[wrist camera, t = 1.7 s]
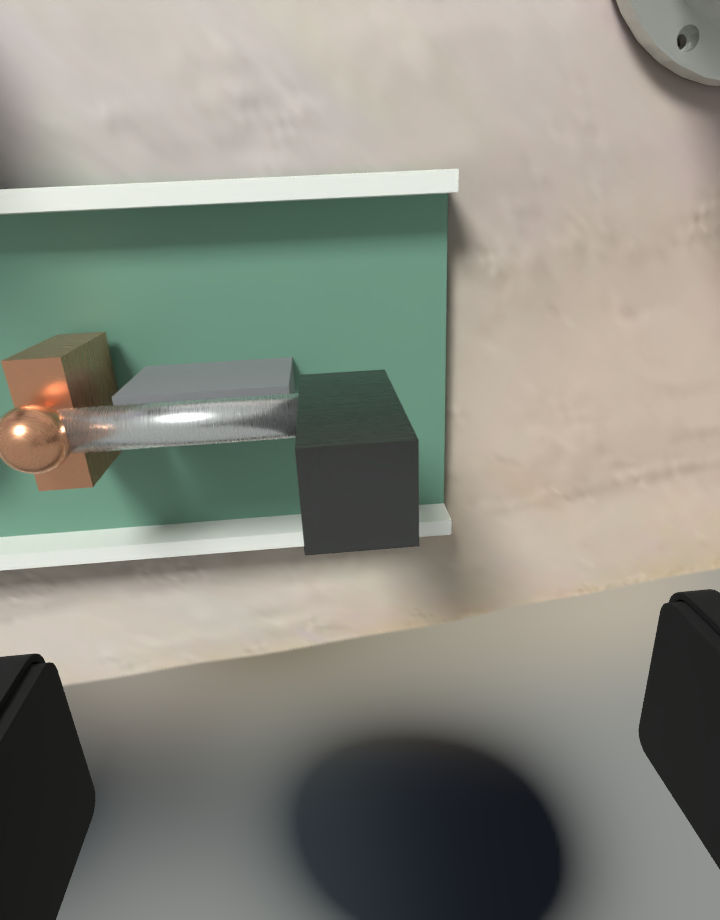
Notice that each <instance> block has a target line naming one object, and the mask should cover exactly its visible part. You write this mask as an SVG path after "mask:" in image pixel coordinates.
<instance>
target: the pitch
mask: <svg viewBox="0 0 720 920" xmlns="http://www.w3.org/2000/svg"><path fill="white" fill-rule="evenodd" d="M458 170H459V169H441V170H419V171H397V172H375V173H353V174H330V175H308V176H286V177H264V178H241V179H219V180H197V181H175V182H153V183H130V184H108V185H86V186H64V187H42V188H19V189H0V418H1V417H2V416H3V415H4V414H6V413H7V412H8V411H9V410H11V409H13V408H14V404H13V401H12V397H11V394H10V391H9V387H8V384H7V380H6V377H5V373H4V370H3V367H2V363H1V361H2V360H4V359H6V358H8V357H10V356H12V355H14V354H17V353H19V352H21V351H23V350H25V349H27V348H29V347H31V346H34V345H36V344H38V343H40V342H42V341H44V340H46V339H49V338H51V337H53V336H55V335H57V334H74V333H92V332H106V336H107V341H108V346H109V350H110V355H111V359H112V364H113V369H114V373H115V378H116V383H117V387H118V392H117V393H116V394H115V395H114V396H112V401H113V405H127V404H142V403H158V402H173V401H188V400H203V399H219V398H234V397H249V396H265V395H280V394H295V393H299V380H300V375H304V374H320V373H335V372H351V371H367V370H382V369H385V371H386V373H387V375H388V377H389V379H390V381H391V383H392V386H393V388H394V390H395V392H396V394H397V396H398V398H399V400H400V402H401V404H402V406H403V408H404V410H405V413H406V415H407V417H408V419H409V421H410V423H411V425H412V427H413V429H414V431H415V433H416V435H417V438H418V440H419V537H427V536H439V535H451V526H452V520H451V518H450V516H449V513H448V511H447V509H446V507H445V505H444V446H445V372H446V297H447V223H448V193H454V192H458ZM302 546H304V539H303V529H302V518H301V508H300V498H299V487H298V477H297V466H296V456H295V438H289V439H275V440H261V441H246V442H232V443H218V444H203V445H189V446H174V447H160V448H146V449H131V450H122V452H121V453H120V454H119V455H118V457H117V458H116V459H115V460H114V462H113V463H112V464H111V465H110V467H109V468H108V469H107V470H106V472H105V473H104V474H103V475H102V477H101V478H100V479H99V480H98V482H97V483H96V484H95V485H94V487H91V488H77V489H63V490H50V491H39V490H38V486H37V483H36V479H35V476H34V474H28V473H23V472H19V471H17V470H15V469H13V468H11V467H9V466H8V465H7V464H5V463H4V462H3V461H2V460H1V458H0V571H1V570H13V569H26V568H39V567H51V566H64V565H76V564H89V563H101V562H114V561H126V560H139V559H151V558H164V557H176V556H189V555H201V554H214V553H226V552H239V551H251V550H264V549H276V548H289V547H302Z"/></svg>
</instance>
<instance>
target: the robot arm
mask: <svg viewBox="0 0 720 920" xmlns="http://www.w3.org/2000/svg"><path fill="white" fill-rule="evenodd" d="M616 2H617V4H618V7H619V10H620V13H621V14H622V16H623V18H624V19H625V21H626V23H627V25H628V26H629V28H630V30H631V31H632V33H633V35H634V36H635V38H636V40H637V41H638V42H639V43H640V44H641V45H642V46H643V47H644V48H645V49H646V50H647V51H648V53H649V54H650V55H651V56H652V57H653V58H654V59H655V60H656V61H657V62H659V63H660V64H662V65H663V66H665V67H666V68H668V69H669V70H671V71H672V72H674V73H675V74H677V75H679V76H680V77H683V78H686V79H689V80H692V81H695V82H698V83H701V84H704V85H711V86H720V0H616ZM677 38H678V40H679V41H680V46H679V47H678V46H677ZM639 738H640V742H641V745H642V748H643V750H644V752H645V754H646V756H647V757H648V759H649V760H650V762H651V763H652V765H653V766H654V768H655V770H656V771H657V773H658V774H659V776H660V777H661V779H662V781H663V782H664V784H665V785H666V787H667V788H668V790H669V791H670V793H671V794H672V796H673V798H674V799H675V801H676V802H677V804H678V805H679V807H680V808H681V810H682V812H683V813H684V814H685V816H686V818H687V819H688V821H689V822H690V824H691V825H692V827H693V829H694V830H695V832H696V833H697V835H698V836H699V838H700V839H701V841H702V842H703V844H704V845H705V847H706V849H707V850H708V852H709V853H710V855H711V857H712V858H713V860H714V861H715V863H716V864H717V866H718V867H719V869H720V593H719V592H718V591H715V590H711V589H709V590H699V591H687V592H678V593H675V594H673V595H672V596H671V598H670V600H669V603H665V604H664V605H663V606H662V608H661V611H660V616H659V621H658V626H657V632H656V638H655V643H654V648H653V654H652V659H651V665H650V670H649V676H648V681H647V686H646V692H645V698H644V702H643V708H642V713H641V719H640V724H639ZM94 806H95V790H94V786H93V783H92V780H91V776H90V773H89V770H88V767H87V763H86V760H85V757H84V754H83V751H82V747H81V744H80V741H79V738H78V735H77V731H76V728H75V725H74V722H73V719H72V715H71V712H70V709H69V706H68V702H67V699H66V696H65V693H64V690H63V686H62V683H61V680H60V677H59V674H58V670H57V668H56V666H55V665H54V664H53V663H50V662H49V663H45V661H44V658H43V657H42V656H41V655H40V654H26V655H16V656H5V657H0V920H56V917H57V915H58V912H59V909H60V906H61V903H62V901H63V898H64V895H65V892H66V889H67V886H68V884H69V881H70V878H71V875H72V873H73V870H74V867H75V864H76V861H77V858H78V856H79V853H80V850H81V847H82V845H83V842H84V839H85V836H86V833H87V830H88V828H89V824H90V822H91V819H92V816H93V813H94Z"/></svg>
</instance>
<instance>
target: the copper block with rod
mask: <svg viewBox="0 0 720 920" xmlns="http://www.w3.org/2000/svg"><path fill="white" fill-rule="evenodd" d="M1 363H2V367H3V370H4V373H5V377H6V380H7V384H8V387H9V391H10V394H11V397H12V401H13V404H14V408H13V409H11V410H9V411H8V412H7V413H6V414H4V415H3V416H2V417H1V418H0V458H1V460H2V461H3V462H4V463H5V464H7V465H8V466H9V467H11V468H13V469H15V470H17V471H19V472H23V473H28V474H34V476H35V479H36V483H37V486H38V490H39V491H50V490H63V489H77V488H91V487H94V485H95V484H96V483H97V482H98V480H99V479H100V478H101V477H102V475H103V474H104V473H105V472H106V470H107V469H108V468H109V467H110V465H111V464H112V463H113V462H114V460H115V459H116V458H117V457H118V455H119V454H120V453H121V452H122V450H131V449H146V448H160V447H174V446H189V445H203V444H218V443H232V442H246V441H261V440H275V439H289V438H295V456H296V466H297V477H298V487H299V498H300V508H301V518H302V529H303V539H304V550H305V555H315V554H327V553H340V552H352V551H365V550H377V549H389V548H402V547H414V546H419V440H418V438H417V435H416V433H415V431H414V429H413V427H412V425H411V423H410V421H409V419H408V417H407V415H406V413H405V410H404V408H403V406H402V404H401V402H400V400H399V398H398V396H397V394H396V392H395V390H394V388H393V386H392V383H391V381H390V379H389V377H388V375H387V373H386V371H385V369H382V370H367V371H351V372H335V373H320V374H304V375H300V380H299V393H295V394H280V395H265V396H249V397H234V398H219V399H203V400H188V401H173V402H158V403H142V404H127V405H113V401H112V396H114V395H115V394H116V393H117V392H118V387H117V383H116V378H115V373H114V369H113V364H112V359H111V355H110V350H109V346H108V341H107V336H106V332H92V333H74V334H57V335H55V336H53V337H51V338H49V339H46V340H44V341H42V342H40V343H38V344H36V345H34V346H31V347H29V348H27V349H25V350H23V351H21V352H19V353H17V354H14V355H12V356H10V357H8V358H6V359H4V360H2V361H1Z"/></svg>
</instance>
